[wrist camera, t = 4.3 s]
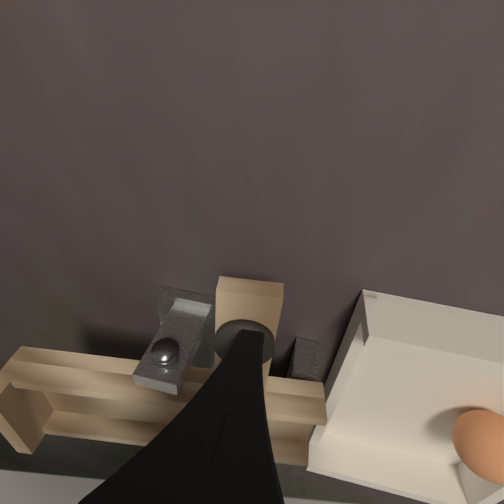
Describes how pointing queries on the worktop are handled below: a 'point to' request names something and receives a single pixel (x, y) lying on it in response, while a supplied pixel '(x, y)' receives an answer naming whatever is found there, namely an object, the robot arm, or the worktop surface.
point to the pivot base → (197, 343)
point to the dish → (409, 398)
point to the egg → (481, 443)
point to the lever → (149, 400)
